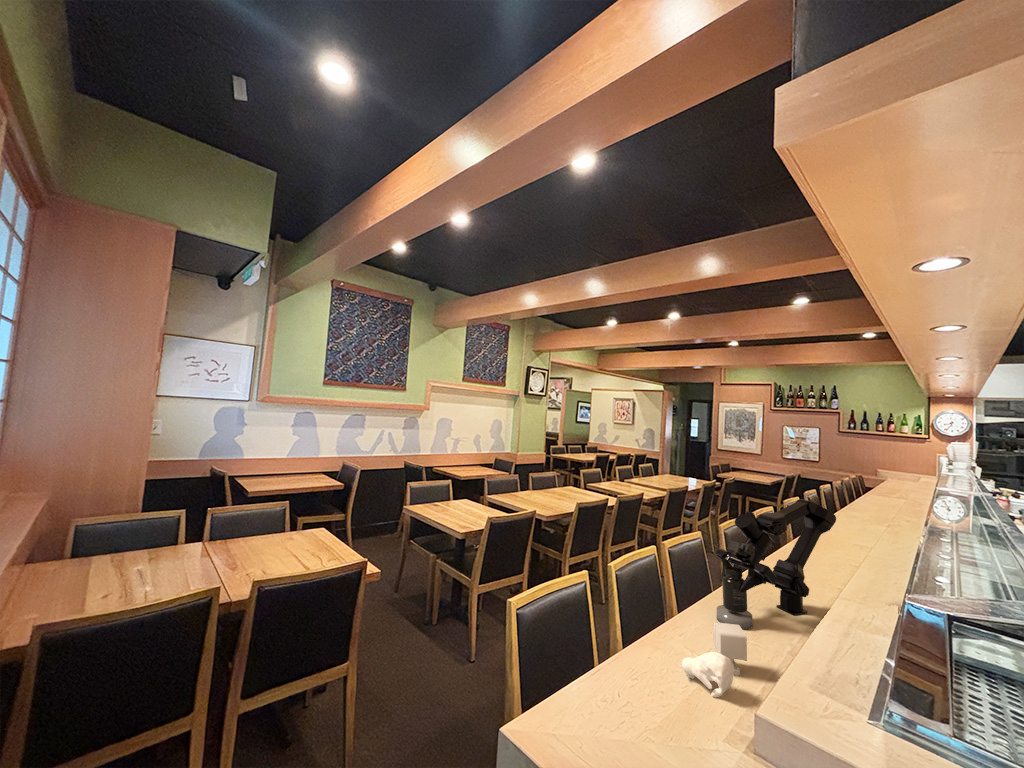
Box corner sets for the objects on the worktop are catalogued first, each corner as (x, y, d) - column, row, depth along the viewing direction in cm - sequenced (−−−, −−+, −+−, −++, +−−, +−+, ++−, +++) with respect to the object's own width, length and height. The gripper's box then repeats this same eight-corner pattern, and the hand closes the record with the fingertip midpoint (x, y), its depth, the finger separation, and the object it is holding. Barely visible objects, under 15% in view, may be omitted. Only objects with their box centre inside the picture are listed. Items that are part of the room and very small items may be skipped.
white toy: (723, 663, 95) (674, 645, 104) (727, 705, 94) (677, 682, 103) (735, 653, 99) (687, 637, 108) (739, 693, 98) (690, 673, 107)
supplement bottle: (749, 607, 133) (748, 568, 134) (745, 615, 128) (743, 574, 129) (725, 601, 138) (724, 563, 139) (720, 608, 132) (719, 569, 133)
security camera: (747, 678, 104) (747, 636, 105) (717, 673, 105) (716, 632, 106) (739, 663, 110) (738, 623, 111) (710, 659, 112) (710, 620, 112)
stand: (733, 612, 139) (733, 603, 139) (760, 627, 130) (760, 617, 130) (709, 616, 136) (709, 606, 136) (735, 631, 126) (734, 621, 127)
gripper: (718, 524, 145) (694, 560, 140) (769, 539, 127) (743, 582, 123) (736, 545, 147) (712, 582, 142) (788, 563, 130) (763, 606, 125)
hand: (731, 587), depth 133 cm, fingers closed on supplement bottle, 7 cm apart
